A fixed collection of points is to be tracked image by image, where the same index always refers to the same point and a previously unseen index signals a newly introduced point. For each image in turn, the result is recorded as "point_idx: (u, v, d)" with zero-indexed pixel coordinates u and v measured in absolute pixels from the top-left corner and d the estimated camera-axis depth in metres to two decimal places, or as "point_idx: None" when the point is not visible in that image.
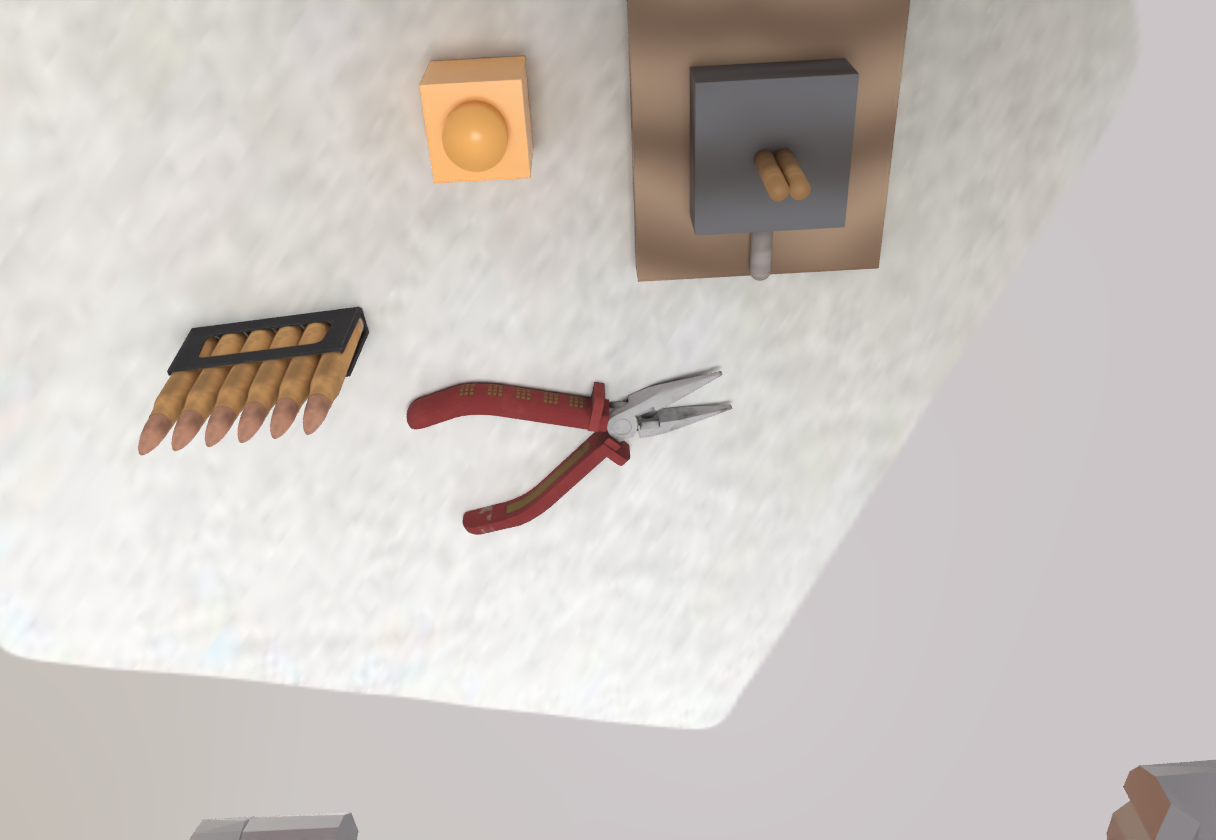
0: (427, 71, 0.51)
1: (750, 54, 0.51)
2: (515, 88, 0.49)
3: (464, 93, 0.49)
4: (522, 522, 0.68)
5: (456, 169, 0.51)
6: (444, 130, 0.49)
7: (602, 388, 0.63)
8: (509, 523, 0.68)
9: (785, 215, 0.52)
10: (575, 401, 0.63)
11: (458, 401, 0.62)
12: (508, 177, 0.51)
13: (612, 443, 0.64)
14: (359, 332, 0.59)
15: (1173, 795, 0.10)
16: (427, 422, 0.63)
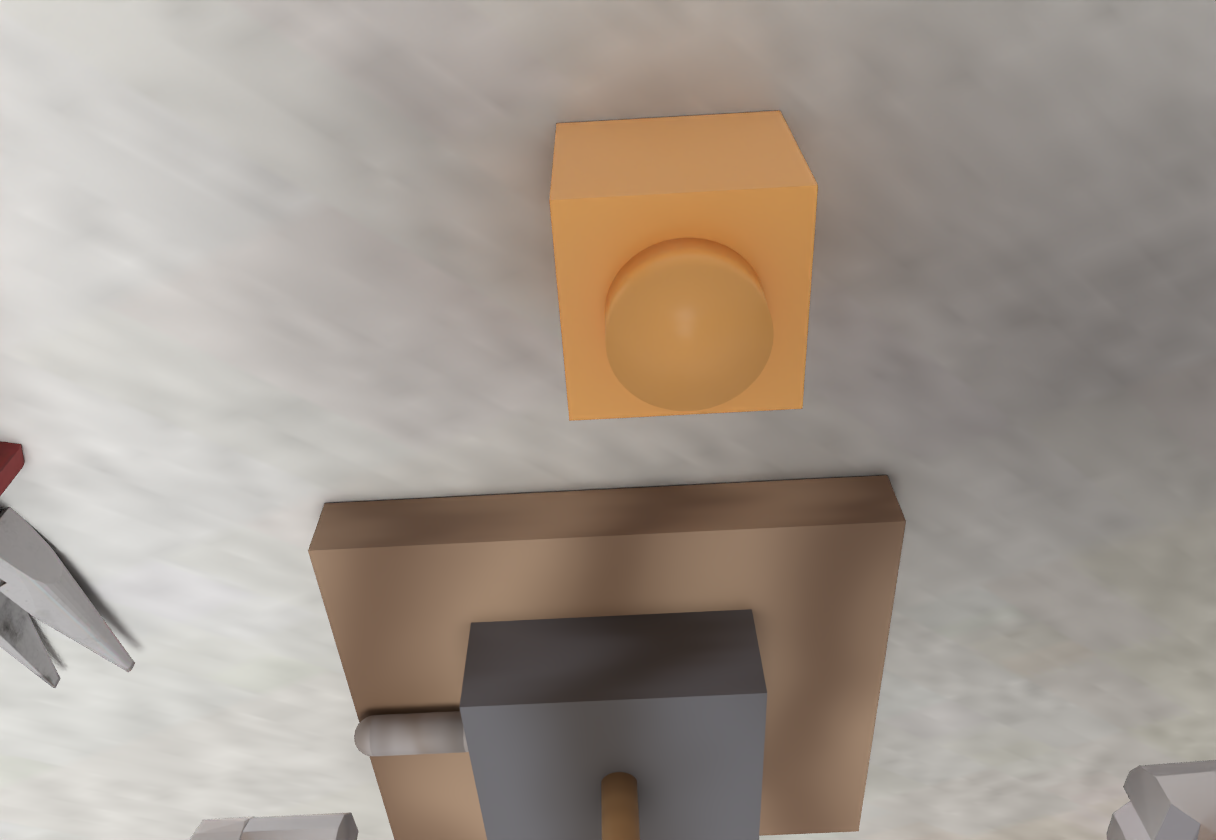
0: None
1: None
2: (784, 397, 0.21)
3: (784, 290, 0.20)
4: None
5: (588, 258, 0.19)
6: (720, 272, 0.18)
7: (13, 473, 0.27)
8: None
9: (511, 815, 0.28)
10: None
11: None
12: (569, 375, 0.21)
13: None
14: None
15: (1173, 795, 0.10)
16: None
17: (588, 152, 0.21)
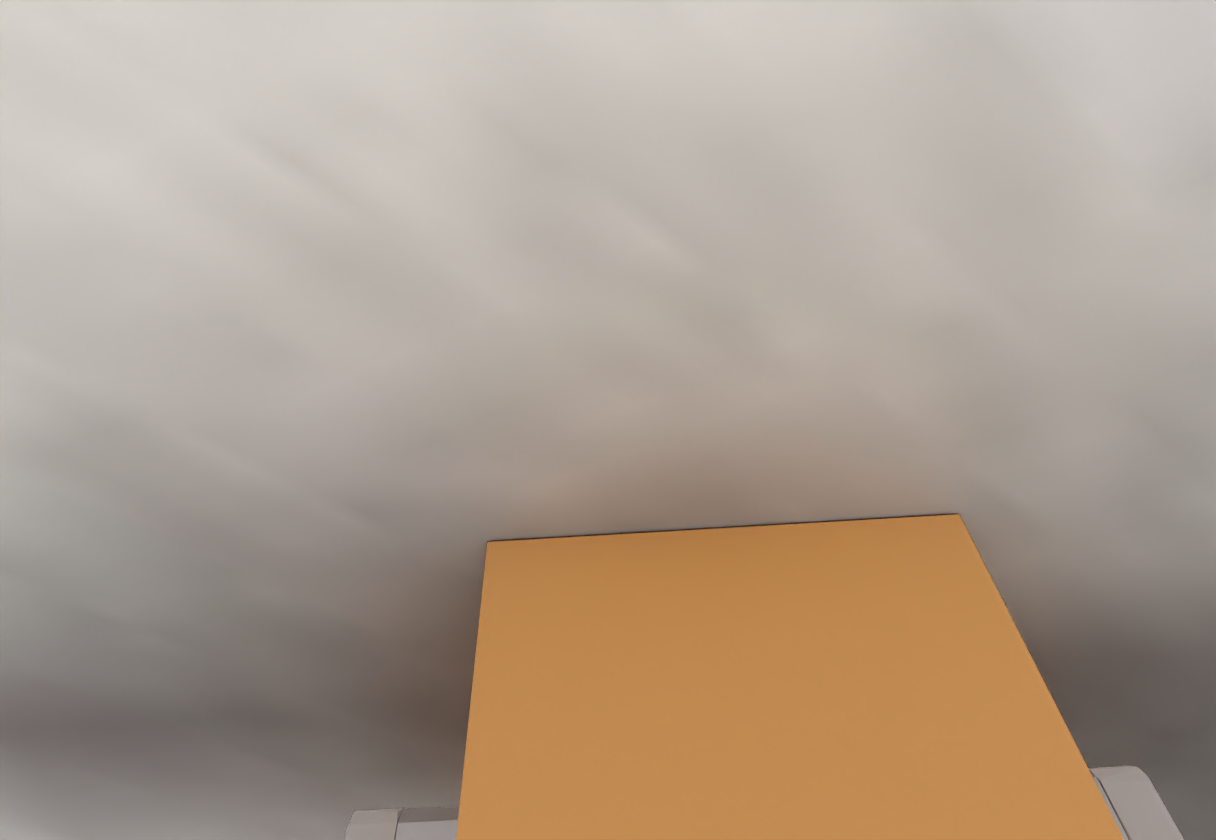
0: (1032, 670, 0.09)
1: None
2: None
3: None
4: None
5: None
6: None
7: None
8: None
9: None
10: None
11: None
12: None
13: None
14: None
15: None
16: None
17: (552, 687, 0.09)
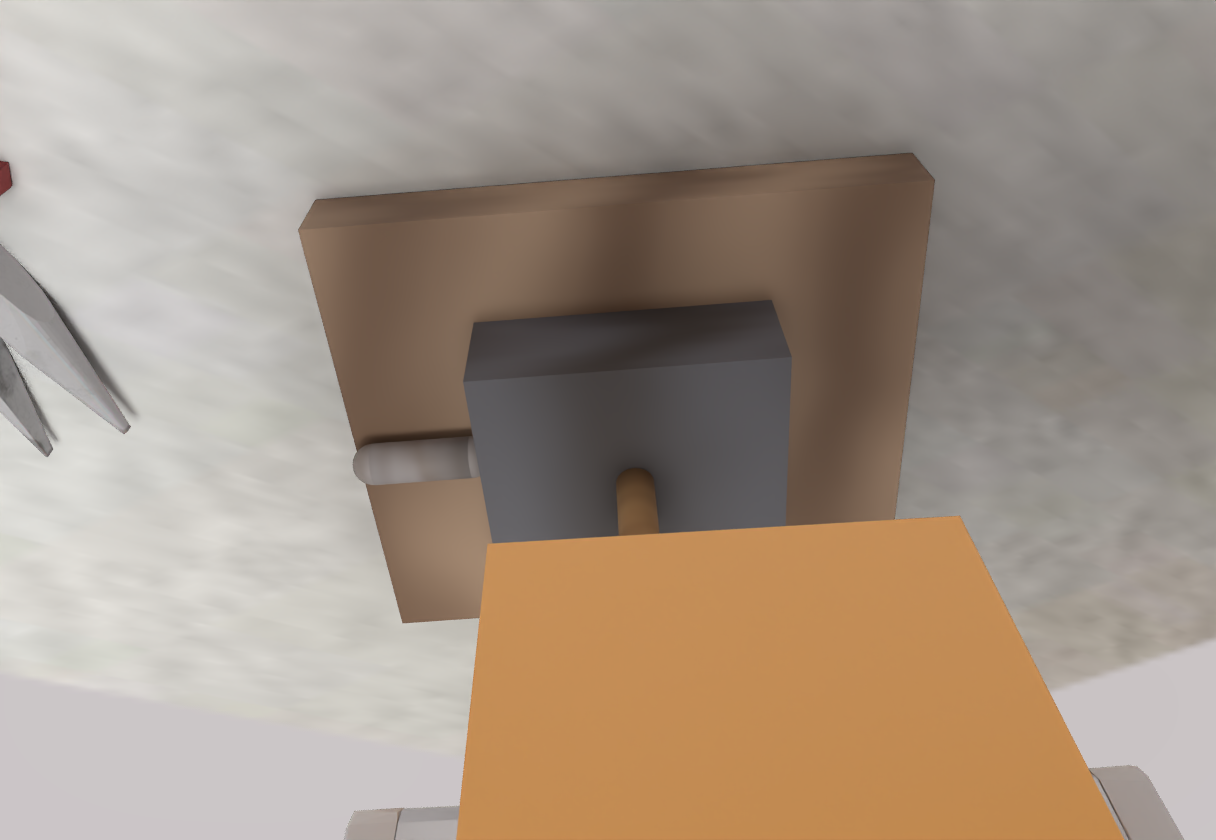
0: (1032, 672, 0.09)
1: None
2: None
3: None
4: None
5: None
6: None
7: (0, 189, 0.26)
8: None
9: (521, 529, 0.27)
10: None
11: None
12: None
13: None
14: None
15: None
16: None
17: (552, 689, 0.09)
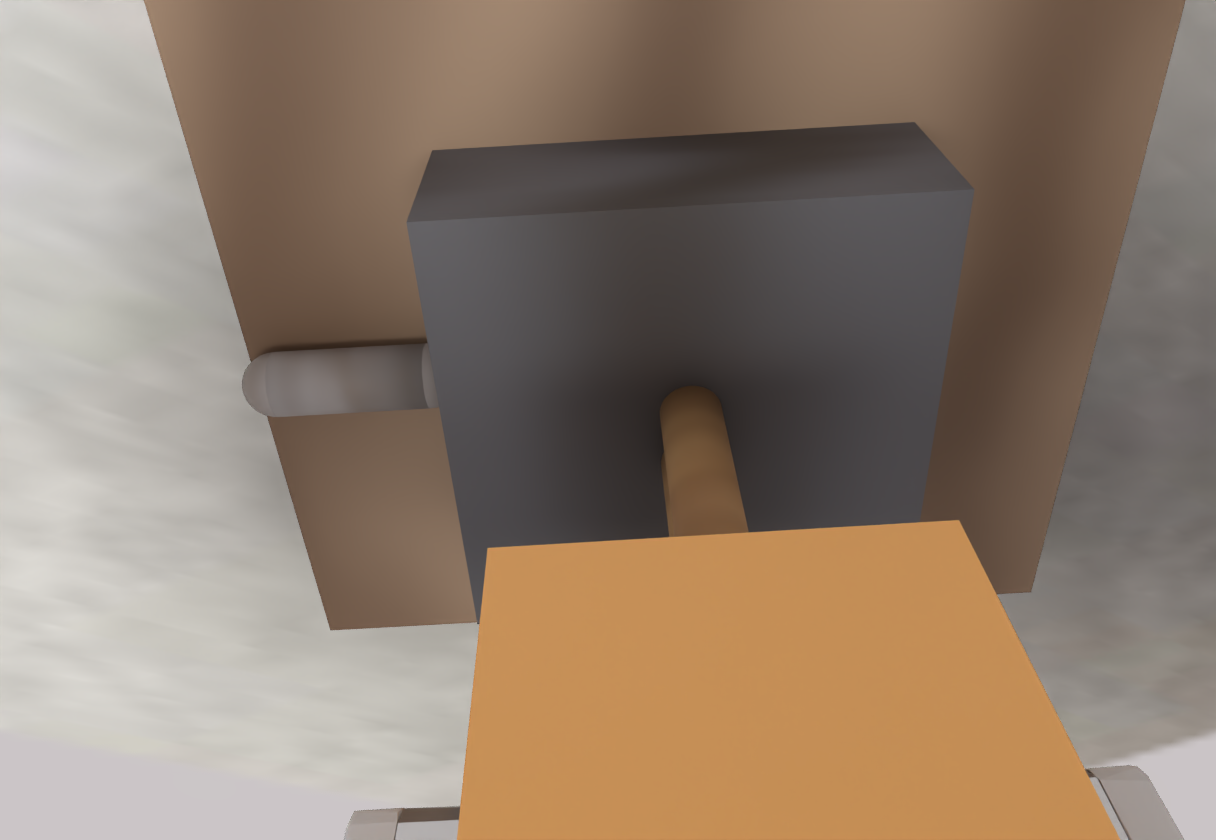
0: None
1: None
2: None
3: None
4: None
5: None
6: None
7: None
8: None
9: (502, 485, 0.17)
10: None
11: None
12: None
13: None
14: None
15: None
16: None
17: (552, 694, 0.09)
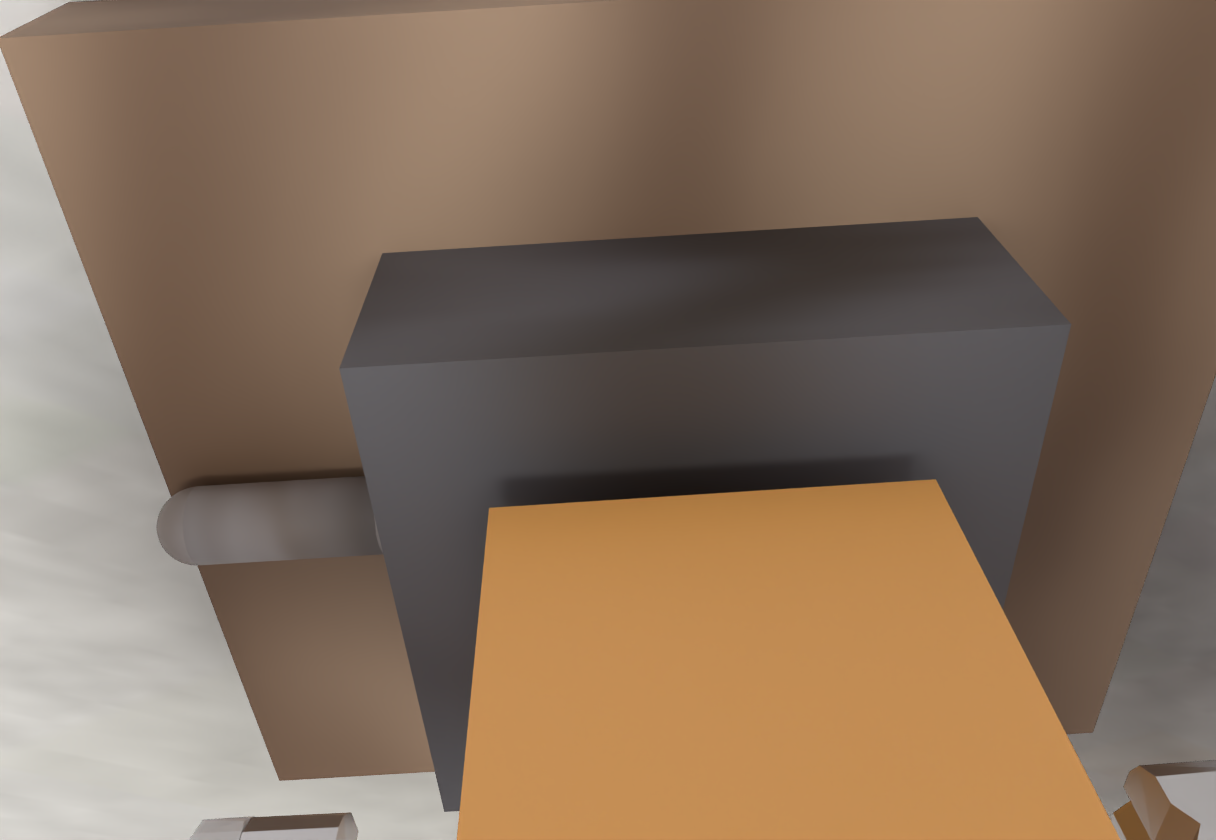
0: (1001, 619, 0.09)
1: None
2: None
3: None
4: None
5: None
6: None
7: None
8: None
9: (471, 665, 0.14)
10: None
11: None
12: None
13: None
14: None
15: (1173, 795, 0.10)
16: None
17: (552, 637, 0.09)
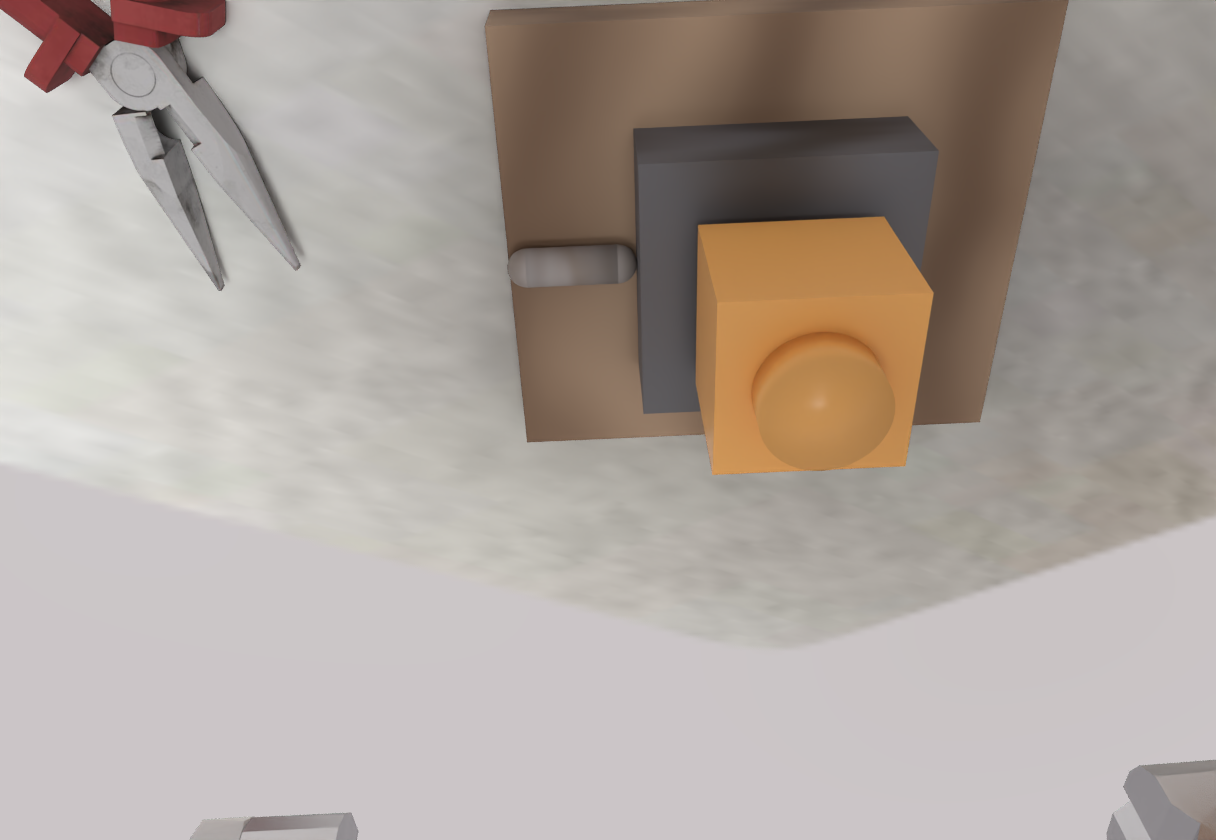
0: None
1: None
2: (891, 457, 0.25)
3: (899, 373, 0.24)
4: None
5: (743, 347, 0.24)
6: (857, 363, 0.23)
7: (219, 23, 0.28)
8: None
9: (670, 321, 0.29)
10: None
11: None
12: (716, 438, 0.25)
13: (85, 55, 0.27)
14: None
15: (1173, 795, 0.10)
16: None
17: (734, 255, 0.25)
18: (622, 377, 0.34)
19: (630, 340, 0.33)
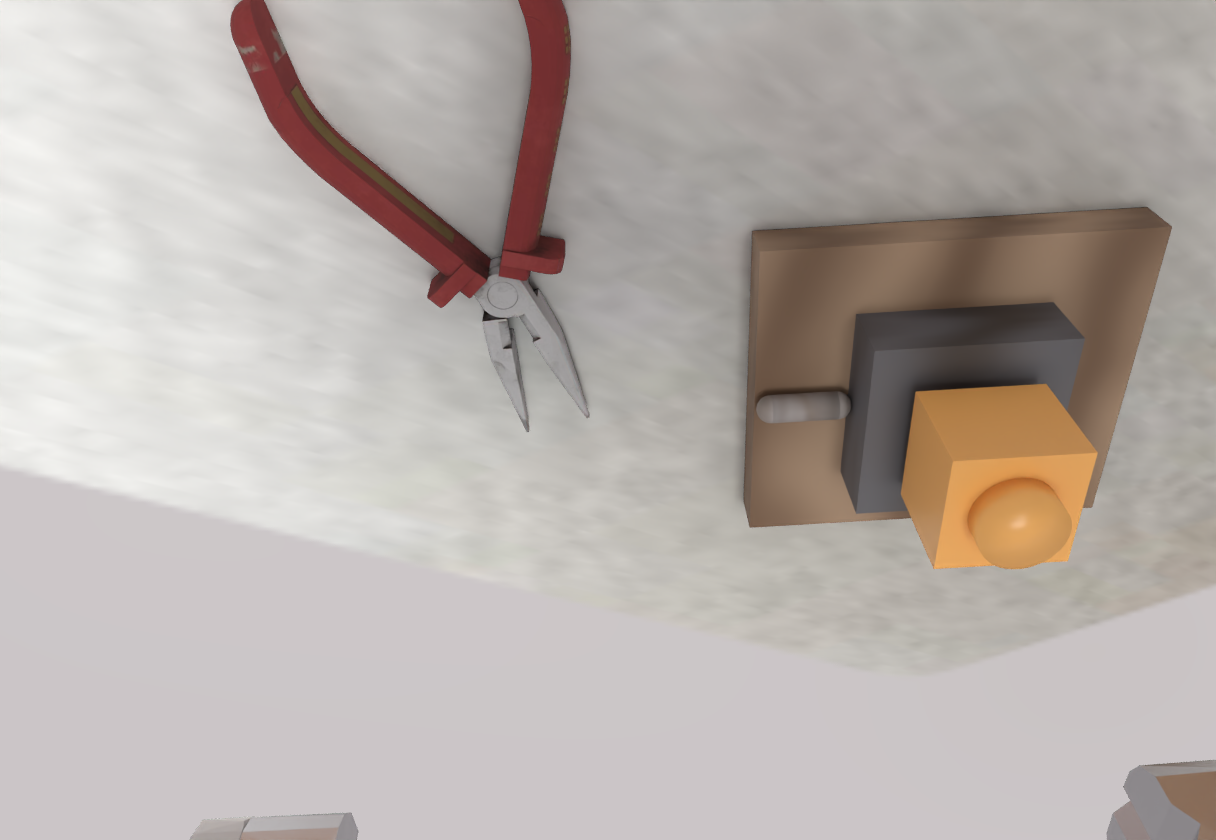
0: None
1: None
2: (1058, 555, 0.37)
3: (1069, 502, 0.35)
4: (282, 128, 0.35)
5: (966, 488, 0.35)
6: (1049, 502, 0.34)
7: None
8: (277, 103, 0.35)
9: (883, 451, 0.40)
10: (542, 221, 0.39)
11: (556, 27, 0.34)
12: (940, 545, 0.36)
13: (475, 285, 0.39)
14: None
15: (1173, 795, 0.10)
16: None
17: (951, 419, 0.36)
18: (826, 481, 0.45)
19: (836, 454, 0.44)
